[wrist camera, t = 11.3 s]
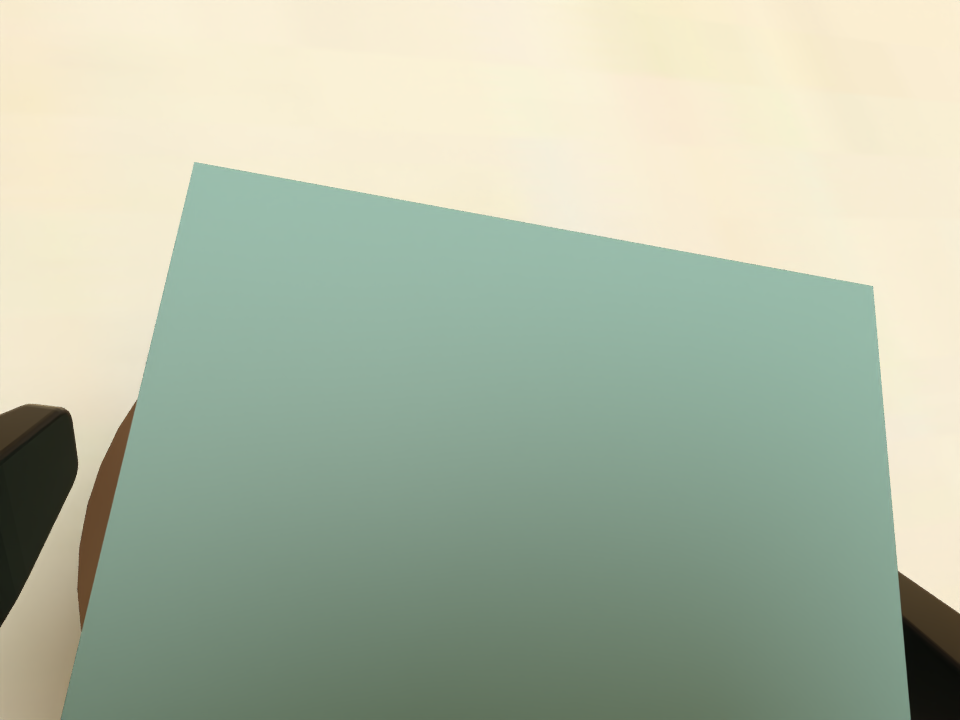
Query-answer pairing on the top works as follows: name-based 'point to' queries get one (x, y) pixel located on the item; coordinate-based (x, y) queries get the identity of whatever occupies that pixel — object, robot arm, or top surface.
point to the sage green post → (491, 479)
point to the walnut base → (100, 513)
